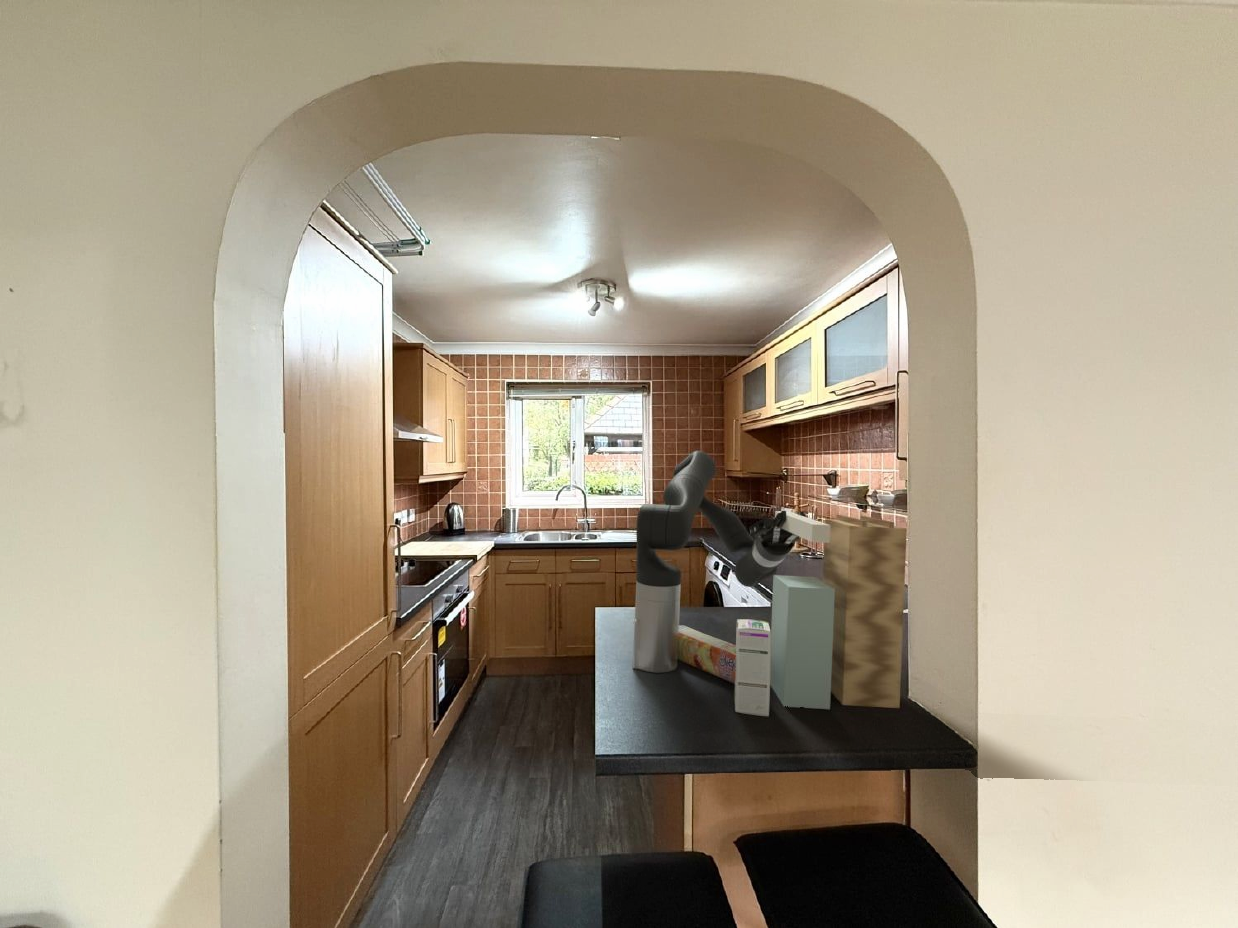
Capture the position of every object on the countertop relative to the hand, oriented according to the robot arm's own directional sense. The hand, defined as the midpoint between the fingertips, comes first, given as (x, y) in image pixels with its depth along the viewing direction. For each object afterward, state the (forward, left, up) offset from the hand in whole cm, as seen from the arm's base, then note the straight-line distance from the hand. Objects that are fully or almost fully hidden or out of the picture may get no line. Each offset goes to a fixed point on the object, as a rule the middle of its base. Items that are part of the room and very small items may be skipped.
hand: (793, 515), depth 102 cm
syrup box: (-10, -13, -33) cm, 37 cm away
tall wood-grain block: (+12, -4, -33) cm, 35 cm away
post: (0, -7, -33) cm, 33 cm away
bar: (0, -4, -3) cm, 5 cm away
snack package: (-14, +3, -33) cm, 36 cm away
